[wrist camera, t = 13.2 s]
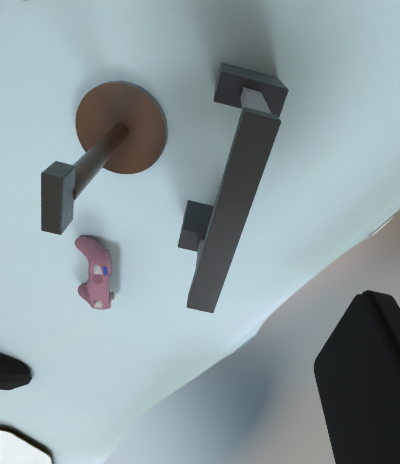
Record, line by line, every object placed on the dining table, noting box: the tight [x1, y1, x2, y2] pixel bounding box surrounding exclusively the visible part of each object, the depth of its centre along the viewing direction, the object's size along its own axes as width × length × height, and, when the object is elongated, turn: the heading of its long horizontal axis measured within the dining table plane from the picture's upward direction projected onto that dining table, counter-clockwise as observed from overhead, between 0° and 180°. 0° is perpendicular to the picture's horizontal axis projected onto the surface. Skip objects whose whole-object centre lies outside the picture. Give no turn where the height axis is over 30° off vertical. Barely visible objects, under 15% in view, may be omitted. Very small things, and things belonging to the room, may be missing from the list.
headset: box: [178, 63, 288, 313], centre depth 33 cm, size 6×18×17 cm, turn 167°
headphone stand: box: [41, 81, 167, 235], centre depth 31 cm, size 10×10×19 cm
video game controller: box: [75, 236, 115, 309], centre depth 48 cm, size 10×5×7 cm, turn 172°
